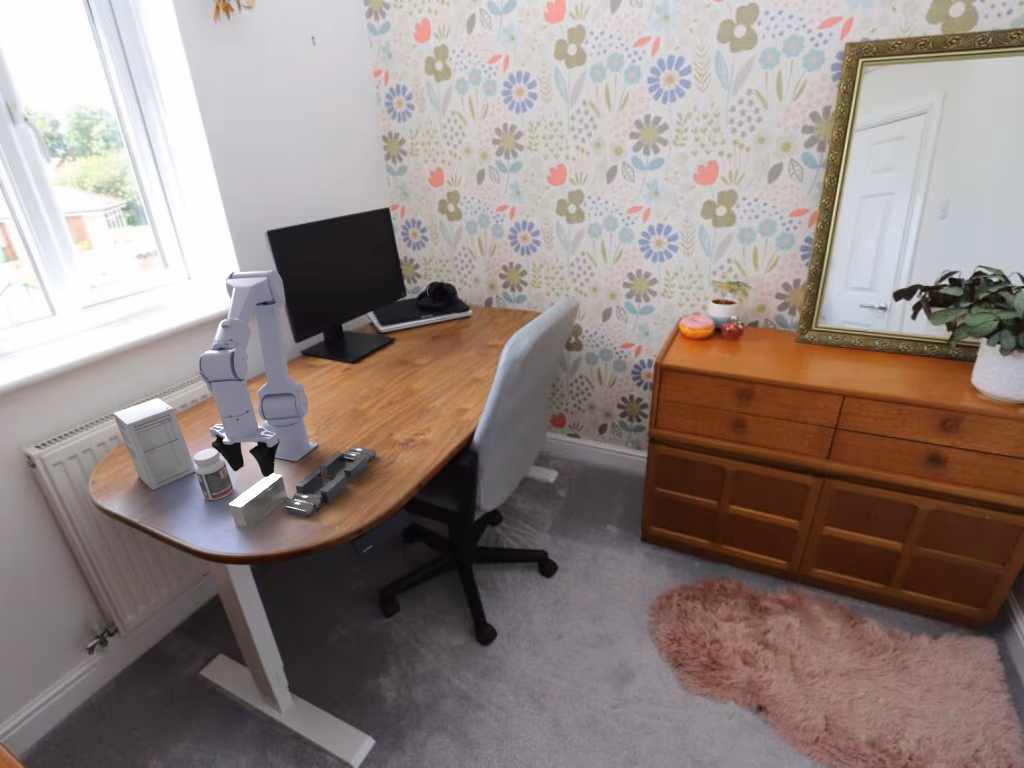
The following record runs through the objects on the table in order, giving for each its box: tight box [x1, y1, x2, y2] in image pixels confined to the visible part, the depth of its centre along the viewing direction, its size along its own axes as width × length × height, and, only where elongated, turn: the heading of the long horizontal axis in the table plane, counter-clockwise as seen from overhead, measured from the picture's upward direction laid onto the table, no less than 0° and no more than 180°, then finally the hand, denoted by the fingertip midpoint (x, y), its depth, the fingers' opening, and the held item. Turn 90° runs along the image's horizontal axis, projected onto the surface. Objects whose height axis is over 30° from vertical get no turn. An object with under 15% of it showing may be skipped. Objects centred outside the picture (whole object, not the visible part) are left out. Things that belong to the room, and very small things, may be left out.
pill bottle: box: [193, 447, 234, 501], centre depth 112 cm, size 6×6×10 cm
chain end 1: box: [284, 469, 348, 519], centre depth 110 cm, size 8×11×3 cm
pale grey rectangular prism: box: [228, 473, 288, 530], centre depth 107 cm, size 3×11×6 cm, turn 160°
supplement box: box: [112, 397, 196, 491], centre depth 118 cm, size 10×9×17 cm
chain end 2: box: [319, 445, 377, 484], centre depth 121 cm, size 8×11×3 cm
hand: (253, 471), depth 104 cm, fingers open, 7 cm apart
